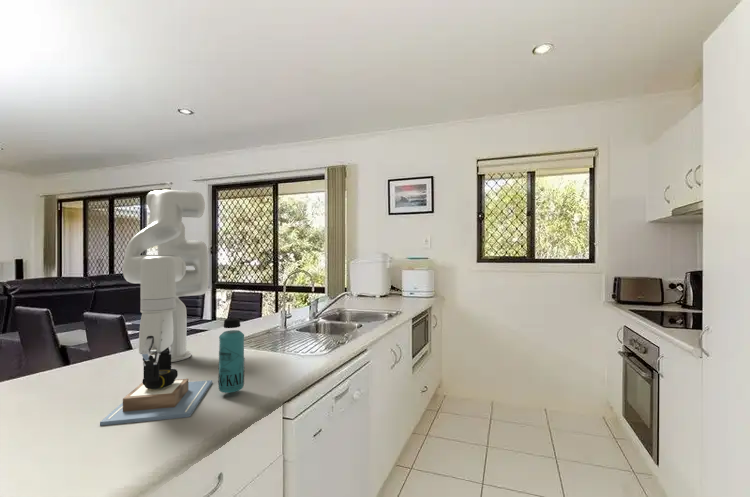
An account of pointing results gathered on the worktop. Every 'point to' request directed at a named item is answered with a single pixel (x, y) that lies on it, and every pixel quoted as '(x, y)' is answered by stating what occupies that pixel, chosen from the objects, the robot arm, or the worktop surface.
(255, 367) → the worktop surface
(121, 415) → the board
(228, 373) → the beverage bottle
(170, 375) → the tape measure
